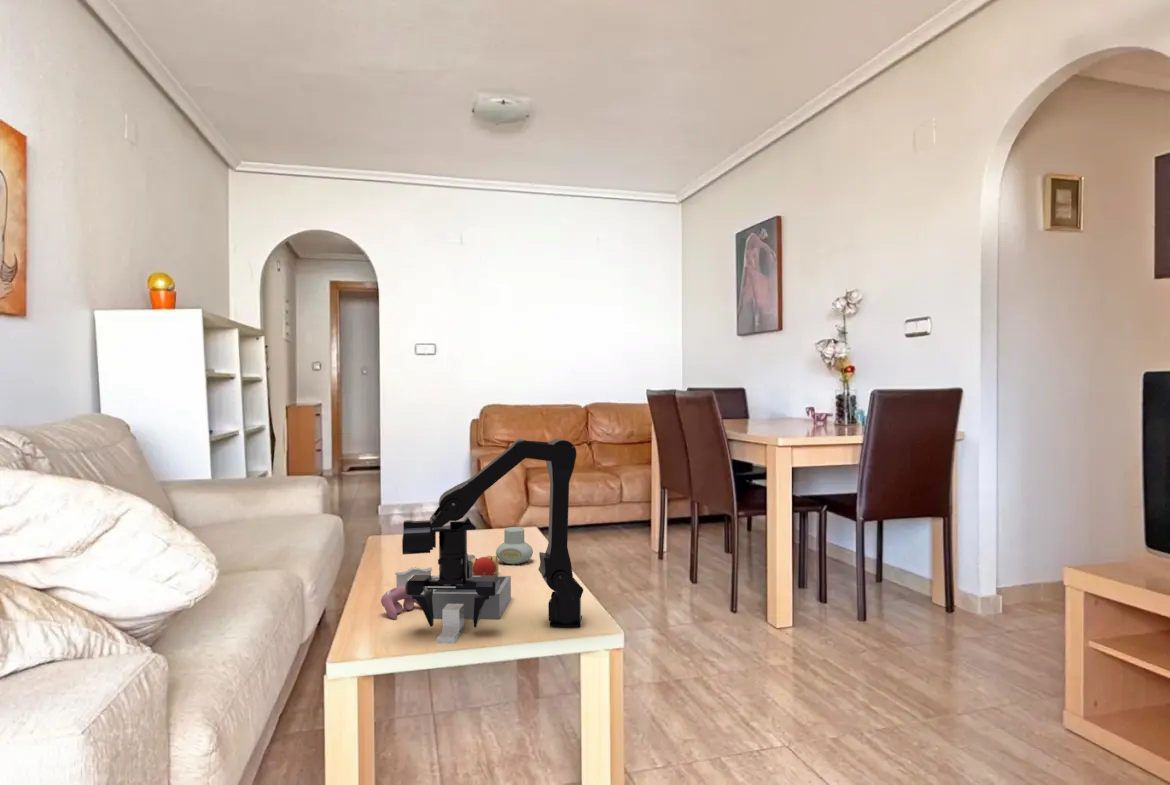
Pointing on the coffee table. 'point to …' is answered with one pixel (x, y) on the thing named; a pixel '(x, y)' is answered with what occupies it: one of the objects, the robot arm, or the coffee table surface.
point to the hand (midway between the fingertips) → (453, 626)
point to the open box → (490, 608)
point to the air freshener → (514, 547)
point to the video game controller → (393, 597)
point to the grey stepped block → (452, 623)
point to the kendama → (485, 566)
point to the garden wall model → (404, 576)
